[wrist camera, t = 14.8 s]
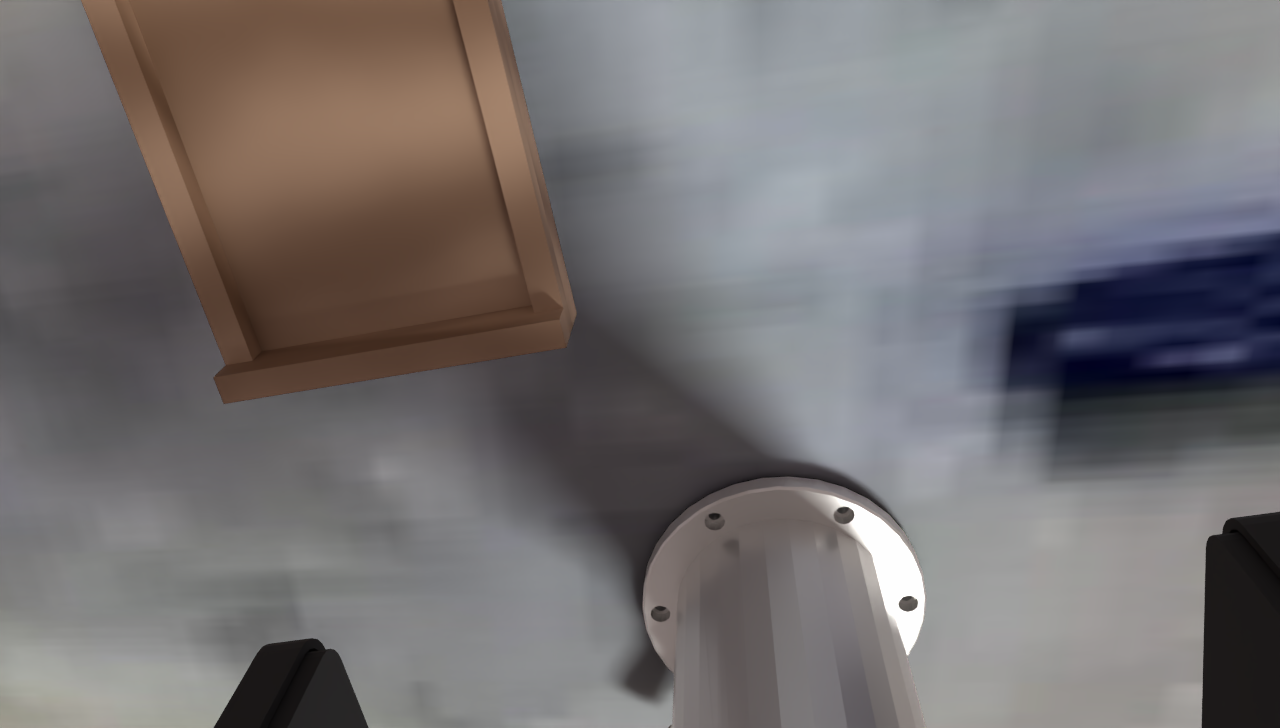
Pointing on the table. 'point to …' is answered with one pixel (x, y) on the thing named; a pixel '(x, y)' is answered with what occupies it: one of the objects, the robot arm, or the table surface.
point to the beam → (344, 182)
